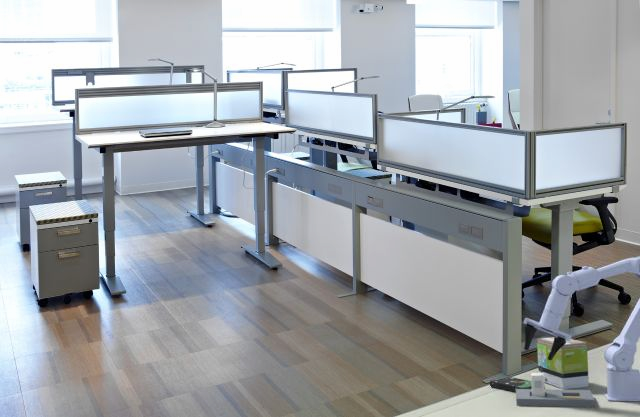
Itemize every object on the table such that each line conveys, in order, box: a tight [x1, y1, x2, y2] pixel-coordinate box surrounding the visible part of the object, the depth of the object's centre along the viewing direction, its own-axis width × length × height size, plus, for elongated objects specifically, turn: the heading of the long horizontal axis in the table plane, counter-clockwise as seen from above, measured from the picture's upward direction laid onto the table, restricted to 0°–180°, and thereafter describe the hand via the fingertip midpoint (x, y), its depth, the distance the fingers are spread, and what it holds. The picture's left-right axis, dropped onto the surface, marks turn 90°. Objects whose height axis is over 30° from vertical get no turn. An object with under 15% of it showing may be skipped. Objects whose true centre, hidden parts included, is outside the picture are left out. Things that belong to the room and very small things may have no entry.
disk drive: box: [489, 376, 532, 394], centre depth 250 cm, size 10×3×15 cm
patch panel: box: [515, 388, 596, 408], centre depth 232 cm, size 22×14×2 cm, turn 77°
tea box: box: [536, 336, 590, 390], centre depth 256 cm, size 15×10×15 cm, turn 16°
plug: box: [530, 372, 546, 396], centre depth 232 cm, size 4×5×8 cm
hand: (537, 354), depth 234 cm, fingers open, 7 cm apart
